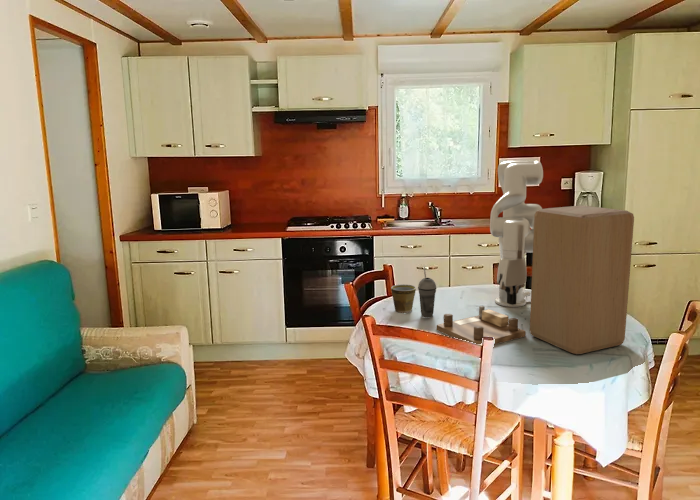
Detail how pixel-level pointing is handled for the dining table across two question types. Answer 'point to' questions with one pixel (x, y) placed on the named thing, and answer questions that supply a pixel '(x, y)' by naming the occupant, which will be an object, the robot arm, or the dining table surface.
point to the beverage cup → (427, 296)
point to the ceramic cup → (403, 297)
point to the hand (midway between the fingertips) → (511, 303)
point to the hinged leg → (495, 318)
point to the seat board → (486, 331)
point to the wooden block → (581, 277)
